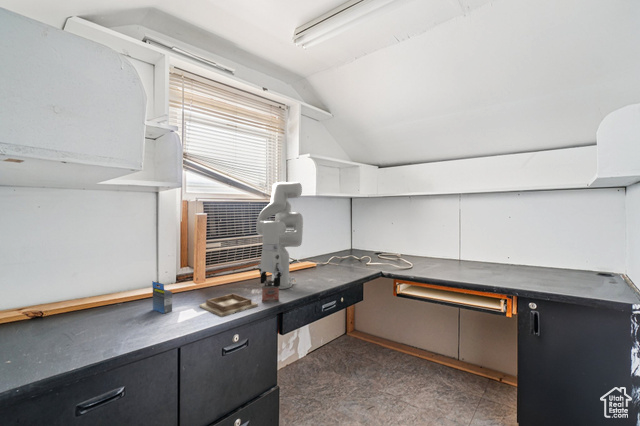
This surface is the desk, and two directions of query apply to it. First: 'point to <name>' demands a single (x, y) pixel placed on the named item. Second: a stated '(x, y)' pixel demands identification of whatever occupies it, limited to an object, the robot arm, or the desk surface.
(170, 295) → the label tape cartridge
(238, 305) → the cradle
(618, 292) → the desk surface
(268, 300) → the reddish brown box
